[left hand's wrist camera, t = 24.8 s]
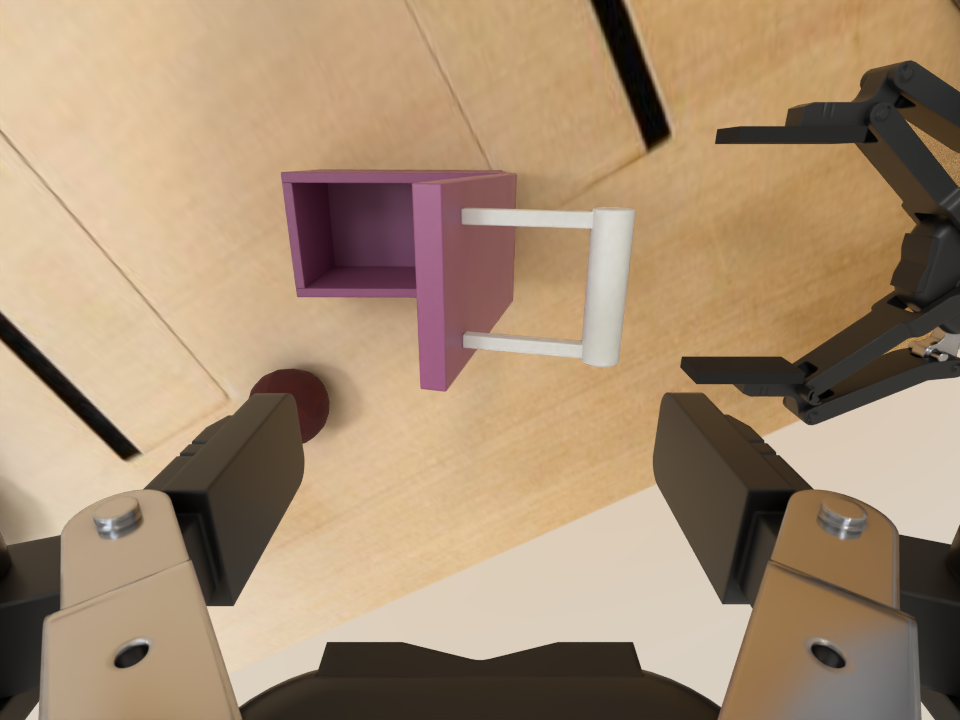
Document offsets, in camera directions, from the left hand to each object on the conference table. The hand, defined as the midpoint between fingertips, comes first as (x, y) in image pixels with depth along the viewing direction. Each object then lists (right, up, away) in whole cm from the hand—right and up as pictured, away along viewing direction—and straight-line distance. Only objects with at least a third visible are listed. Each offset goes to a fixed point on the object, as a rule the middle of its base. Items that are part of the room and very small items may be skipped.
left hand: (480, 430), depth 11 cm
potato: (-19, -2, +43) cm, 47 cm away
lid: (-1, +7, +19) cm, 20 cm away
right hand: (+13, +7, +19) cm, 24 cm away
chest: (-6, +14, +36) cm, 39 cm away
